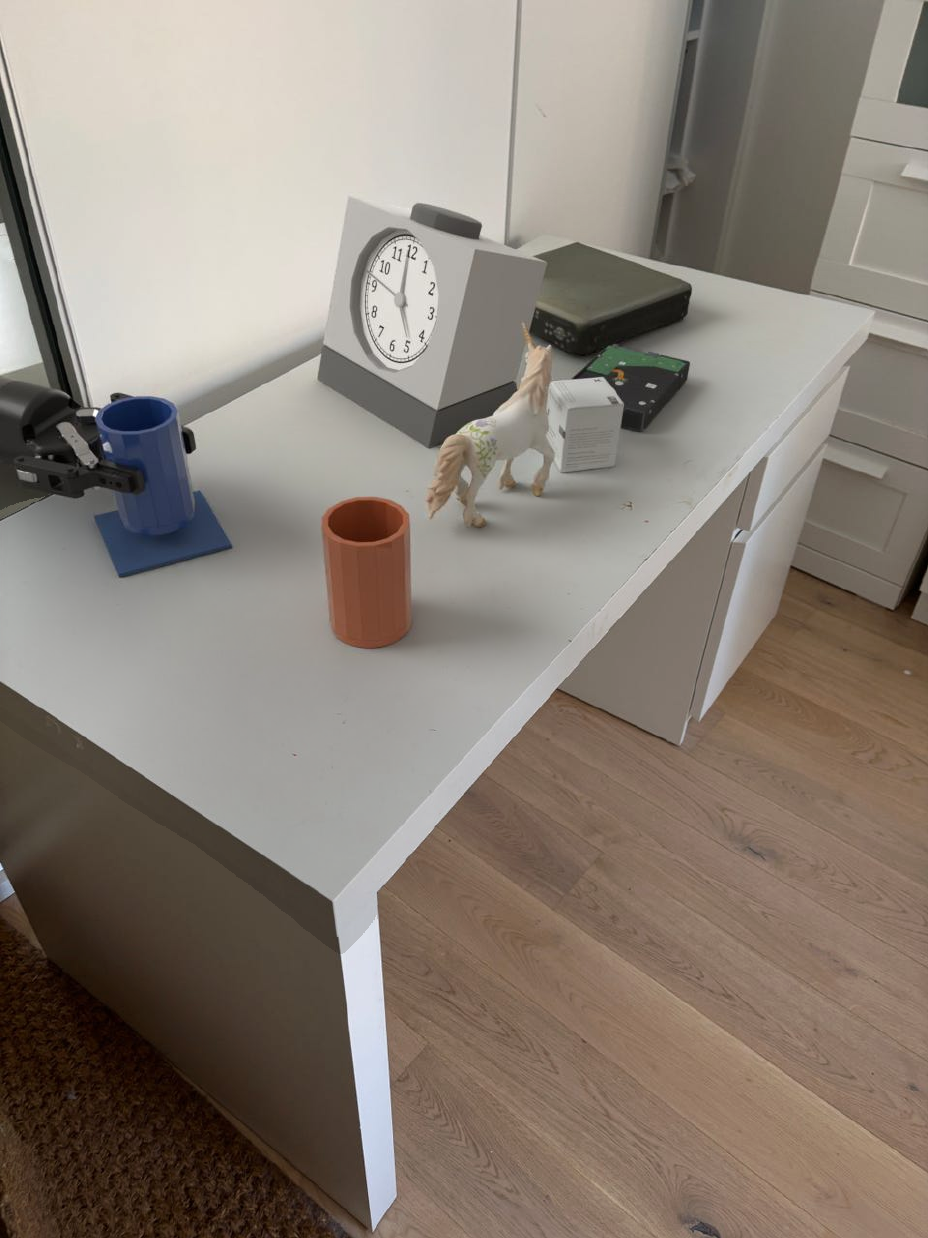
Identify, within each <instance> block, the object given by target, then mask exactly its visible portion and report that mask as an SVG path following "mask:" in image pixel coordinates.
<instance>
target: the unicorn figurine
mask: <svg viewBox="0 0 928 1238" xmlns="http://www.w3.org/2000/svg"><path fill="white" fill-rule="evenodd" d="M522 327H523V332H524V335H525V339H526V345H527V349H528V351H527V352H526V353H525V356H524V357H525V359H524V363H525V369H524V374H523V377H522V378H521V379H520V385H519V388H517V391H516V392H515V393H514V394H513V395H512V397H511V398H510V399H509V400H508V401H506V402H505V403H504V404H502V405H501V406H500V407H499V408H498V409H497V410H496V411H495V412H494V414H493V416H490V417H487V418H484V419H479V420H475V421H472V422H470V423H468V424H466V425H465V426H464V427H462V428H461V429H460V430H459V431H458V432H457V433H456V434H455V435H451V436H449V437H448V438H447V439H446V440H445V441H444V442H442V445H441V446H440V449H439V451H438V453H437V462H436V466H435V468H434V470H433V475H434V476H435V478H434V480H433V482H432V483H430V484H429V485H428V486H427V489H429V491H428V492H427V494H426V496H425V502H427V511H428V512H429V514H428V519H429V520H432V519H433V517H434V515H435V514H436V513H437V512H438V511H440V509H442V507H444V506H445V505H446V504H447V502H448V500H449V499H450V498H451V496H452V493H453V492H454V494H455V495H456V500H457V501H459V502H460V503H461V504H463V505H464V506H465V507H464V509H463V511H462V518H463V524H464V525H465V526H466V527H467V528H468V527H470V526H471V524H473V525H474V526H475V527H476V528H482V527H484V526H485V525H486V519H485V517H483V515H482V514H481V513H478V512H477V511H476V507H475V502H476V497H477V496H478V493H479V490H480V488H481V487H482V486H483V485H484V484H485V482H486V480H487V478H488V477H489V475H490V473H491V472H492V471H493V469H494V468H495V466H496V462H497V461H504V463H503V464H504V465H503V467H502V470H501V471H500V472H499V473H500V474H499V477H498V480H497V488H498V489H499V490H502V489H503V488H504V485H505V486H506V488H508V489H512V488H513V487H515V486H516V480H515V478H514V476H513V475H512V474H511V472H512V470H511V469H512V468H511V467H512V463H513V461H514V460H515V458H518V457H519V456H521V455H523V454H524V453H525V452H526V451H527V450H529V449H533V450H535V451H537V452H538V453H540V454H541V455H543V463H542V466H541V467H540V468H539V469H538V470H536V472H535V473H534V474H533V476H532V479H533V480H532V483H531V485H530V491H531V493H532V494H533V495H534V496H535V497H541V496H542V494H543V492H544V490H545V489H546V483H547V482H548V481H549V478H550V470H551V467H552V464H553V462H554V458H555V453H554V450H553V449H552V447H551V446H550V444H549V442H548V440H547V438H546V434H547V432H548V430H549V420H548V413H547V410H546V409H547V407H546V403H547V399H548V388H547V387H549V385H550V383H551V381H552V371H553V364H552V362H553V360H554V357H553V355H552V354H551V353H552V350H553V349H552V345H551V344H549V345H548V346H547V347H545V346H542V345H538V346H537V347H536V345H535V343H534V341H533V338H532V336H531V334H530V332H528V329H527V326H526V325H525V323H524V322H523V323H522ZM466 467H467V468H468V469H469V471H470V473H471V481H470V484H469V482H467V480H466V479H464V478H463V476H462V472H463V470H464V469H465V468H466Z"/></svg>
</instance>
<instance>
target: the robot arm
mask: <svg viewBox="0 0 928 1238" xmlns="http://www.w3.org/2000/svg"><path fill="white" fill-rule="evenodd" d="M109 396H110V403H112V402H115V401H117V400H120V399H125V398H130V397H135V396H134V395H131V394H126V393H123V392H113V393H111V394H110V395H109ZM102 408H103V407H97V406H94V407H93V406H91V407H90V406H89V407H86V406H82V405H80V404H79V403H78V402H76V401H75V400H74V399H73V398H72V397H71V396H70V395H69V394H67V392H65V391H63V390H61V389H56V388H52V387H48V386H44V385H41V384H36V383H32V382H28V381H23V380H19V379H15V378H11V377H7V376H3V375H0V463H2V464H3V463H4V464H8V465H11V466H14V468H15V470H16V474H17V477H18V480H19V483H20V486H21V487H22V488H24V489H29V490H33V491H38V492H43V493H47V494H51V495H56V496H61V497H65V498H69V499H73V500H74V499H76V500H77V499H81V498H83V497H84V496H85V491H86V490H89V489H91V490H93V491H97V490H101V489H107V490H111V491H112V490H115V491H119V492H121V493H131V494H135V495H139V494H140V493H142V492H143V491H144V490H145V484H144V479H143V475H142V472H141V471H140V470H139V469H137V468H134V467H130V466H127V465H123V464H119V463H115V462H111V461H108V460H105V459H104V455H103V451H102V447H101V443H100V439H99V435H98V431H97V427H96V423H95V418H96V415H97V413H98V411H99V410H101V409H102ZM181 428H182V434H183V439H184V445H185V450H186V455H191V454H193V452H194V451H197V445H196V444H197V443H196V439H195V433H194V431H193V430H192V429H191V428H189V427H187V426H184V425H183V426H182V425H181ZM61 478H63V479H64V482H63V481H62V480H61Z"/></svg>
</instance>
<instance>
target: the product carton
mask: <svg viewBox="0 0 928 1238" xmlns="http://www.w3.org/2000/svg"><path fill="white" fill-rule="evenodd" d="M547 394H548V395H547V400H546V410H547V413H548V420H549V430H548V432H547V434H546V438H547V440H548V442H549V444H550V446H551V447H552V449H553V450H554V453H555V458H554V460H553V462H554V463H555V465H556V467H557V470H558V472H561V473H571V472H580V471H588V470H596V469H607V468H613V467H615V466H616V461H617V460H616V459H617V453H618V446H619V440H620V434H621V428H622V427H621V421H622V414H623V408H624V403H623V402H622V400H621V399H620V398H619V396H618V395H617V393H616V391H615V390H614V389H613V388H612V387H611V386H610V385H609V383H608V382H607V381H606V380H605V378H604V377H597V378H587V379H574V380H571V379H561V380H551V383H550V385H549V386H548V389H547Z"/></svg>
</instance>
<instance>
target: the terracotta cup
mask: <svg viewBox="0 0 928 1238" xmlns="http://www.w3.org/2000/svg"><path fill="white" fill-rule="evenodd" d="M320 527H321V537H322V538H321V539H322V549H323V559H324V569H325V570H324V571H325V581H326V592H327V602H328V615H329V623H330V628H331V631H332V633H333V634H334V636H335V637H336V638H337V639H338V640H340V641H341V642H343V643H344V644H346V645H349V646H351V647H355V648H360V649H378V648H382V647H386V646H391V645H393V644H394V643H396V642H398V641H399V640H401V639H402V638H404V637H405V636H406V635H407V633H408V632H409V631H410V628H411V626H412V614H413V613H412V569H411V568H412V566H411V565H412V564H411V560H412V558H411V522H410V514H409V512H408V511H407V510H406V509H405V507H404V506H402V505H401V504H399V503H397V502H395V501H394V500H391V499H388V498H384V497H377V496H356V497H352V498H351V497H350V498H348V499H344V500H341V501H339V502H337V503H335V504H333V505H331V506H330V507H328V508H327V510H326V511H325V512H324V514H323V515H322V516H321V526H320Z"/></svg>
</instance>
